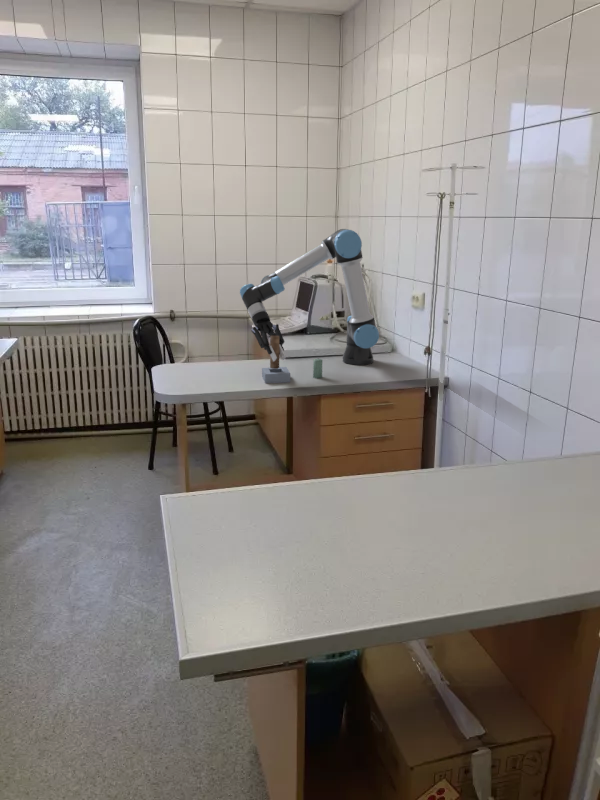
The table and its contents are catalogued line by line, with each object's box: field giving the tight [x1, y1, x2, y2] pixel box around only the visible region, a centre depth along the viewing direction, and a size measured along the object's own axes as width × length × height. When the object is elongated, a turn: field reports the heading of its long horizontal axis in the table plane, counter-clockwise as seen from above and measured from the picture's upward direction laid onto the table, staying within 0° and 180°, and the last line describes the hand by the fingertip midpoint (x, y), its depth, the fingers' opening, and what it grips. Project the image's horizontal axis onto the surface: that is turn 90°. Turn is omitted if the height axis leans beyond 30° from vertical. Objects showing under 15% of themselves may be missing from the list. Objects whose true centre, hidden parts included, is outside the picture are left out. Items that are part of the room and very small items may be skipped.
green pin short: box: [312, 358, 323, 379], centre depth 277 cm, size 4×4×8 cm
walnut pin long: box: [269, 335, 280, 369], centre depth 271 cm, size 4×4×14 cm
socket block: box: [261, 366, 291, 384], centre depth 274 cm, size 11×11×4 cm
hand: (279, 358), depth 268 cm, fingers closed on walnut pin long, 4 cm apart
